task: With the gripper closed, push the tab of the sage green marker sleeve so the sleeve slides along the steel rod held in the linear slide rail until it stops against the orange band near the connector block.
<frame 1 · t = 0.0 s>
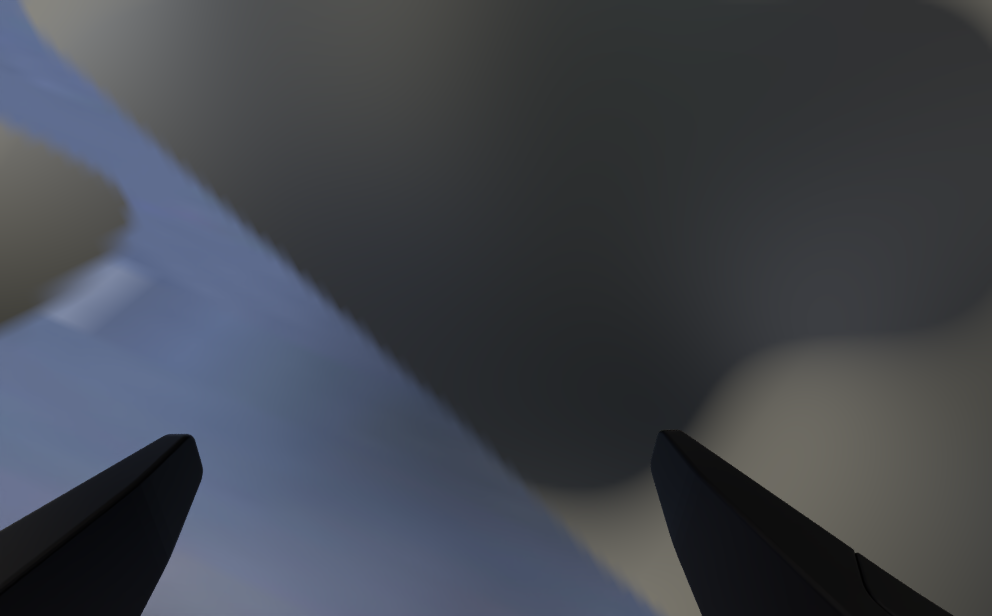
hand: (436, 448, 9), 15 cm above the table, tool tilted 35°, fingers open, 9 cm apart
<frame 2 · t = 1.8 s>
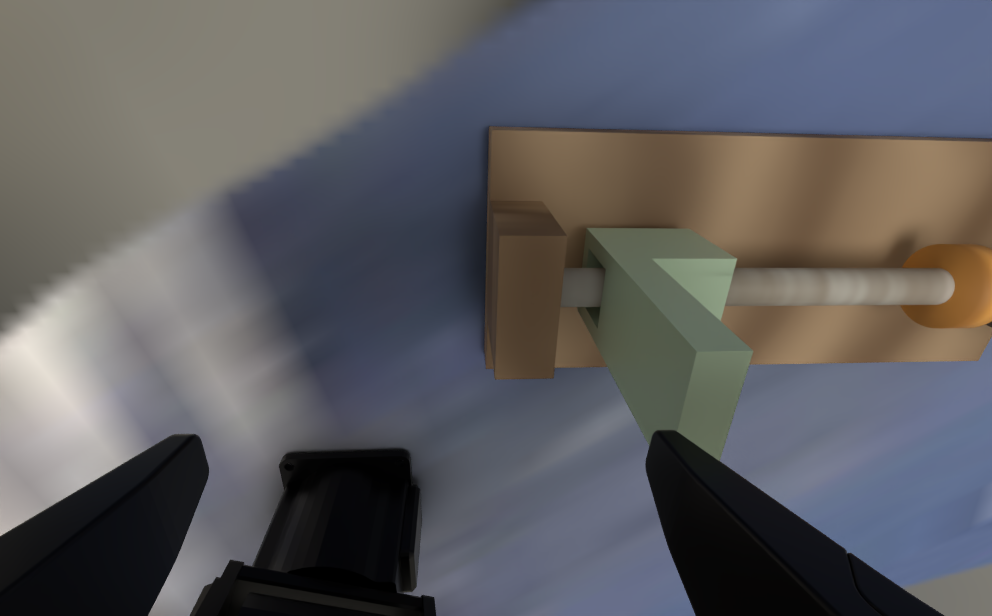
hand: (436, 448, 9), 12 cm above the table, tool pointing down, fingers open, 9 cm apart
linear slide rail: (753, 251, 21), on the table
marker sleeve: (680, 322, 14), point 7 cm above the table, slide at 0.0 cm
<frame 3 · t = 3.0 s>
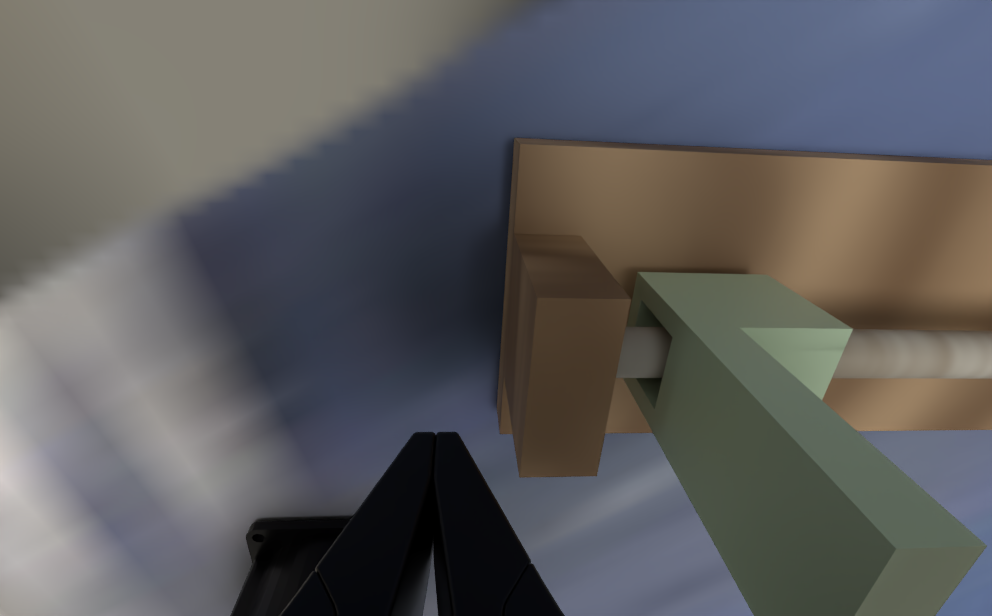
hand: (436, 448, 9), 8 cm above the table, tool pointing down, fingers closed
linear slide rail: (829, 296, 17), on the table
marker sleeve: (778, 417, 11), point 7 cm above the table, slide at 0.0 cm
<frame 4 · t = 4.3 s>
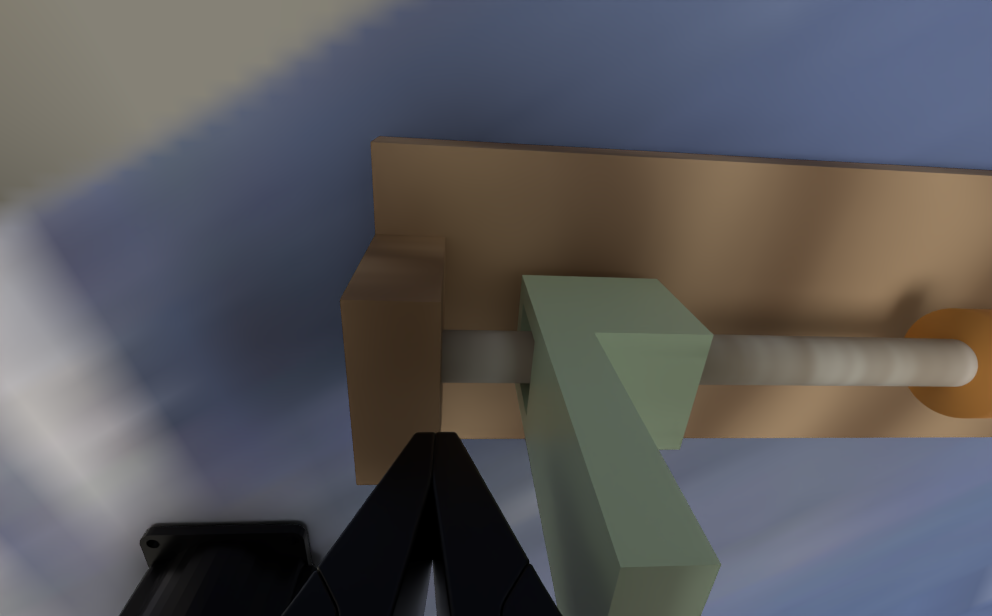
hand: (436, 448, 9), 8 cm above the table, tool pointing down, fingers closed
linear slide rail: (723, 301, 17), on the table
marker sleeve: (631, 425, 10), point 7 cm above the table, slide at 0.6 cm, touching gripper
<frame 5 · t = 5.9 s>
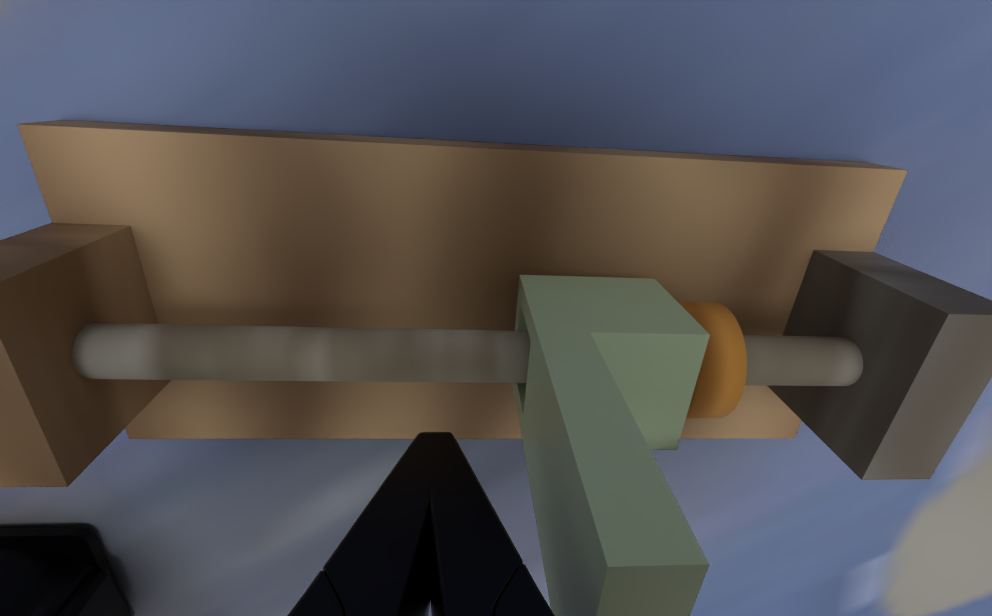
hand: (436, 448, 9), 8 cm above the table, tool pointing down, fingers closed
linear slide rail: (486, 295, 16), on the table
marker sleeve: (626, 425, 10), point 7 cm above the table, slide at 9.2 cm, touching gripper
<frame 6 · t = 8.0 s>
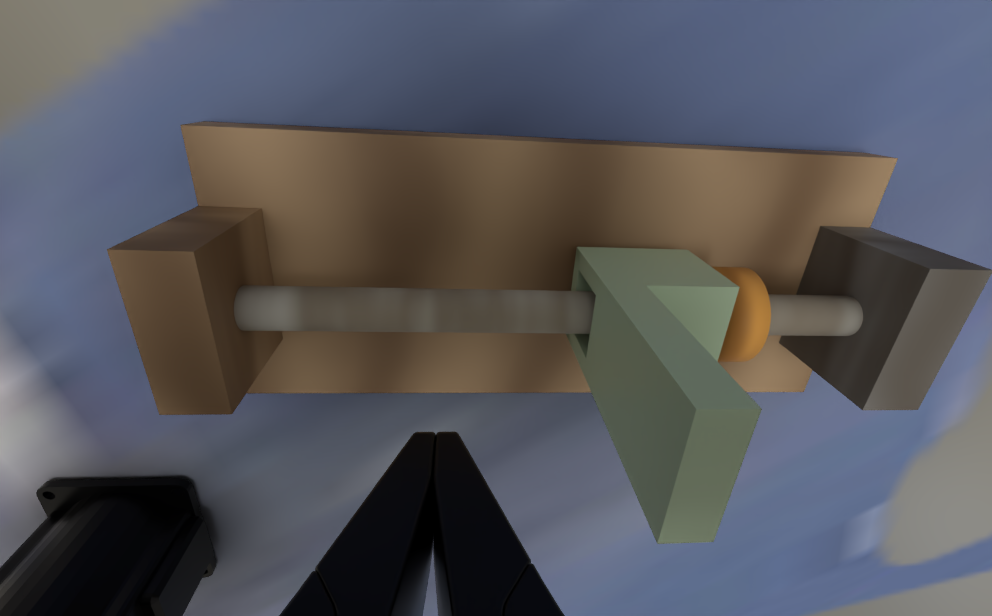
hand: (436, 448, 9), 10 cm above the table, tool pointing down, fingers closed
linear slide rail: (542, 268, 19), on the table
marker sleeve: (676, 357, 13), point 7 cm above the table, slide at 9.1 cm
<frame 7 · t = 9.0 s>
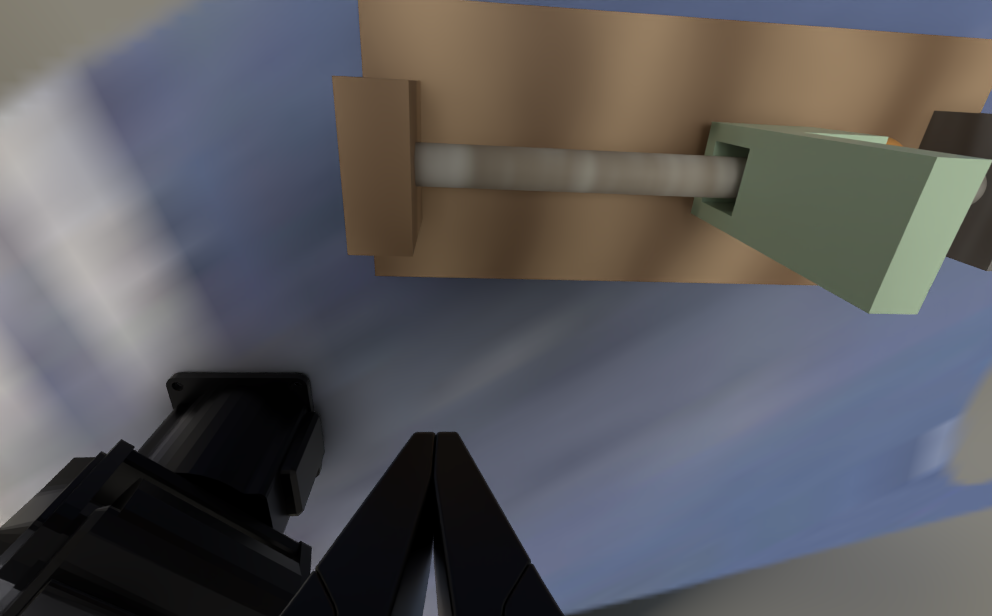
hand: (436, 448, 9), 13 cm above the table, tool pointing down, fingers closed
linear slide rail: (661, 159, 20), on the table
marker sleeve: (834, 197, 14), point 7 cm above the table, slide at 9.1 cm
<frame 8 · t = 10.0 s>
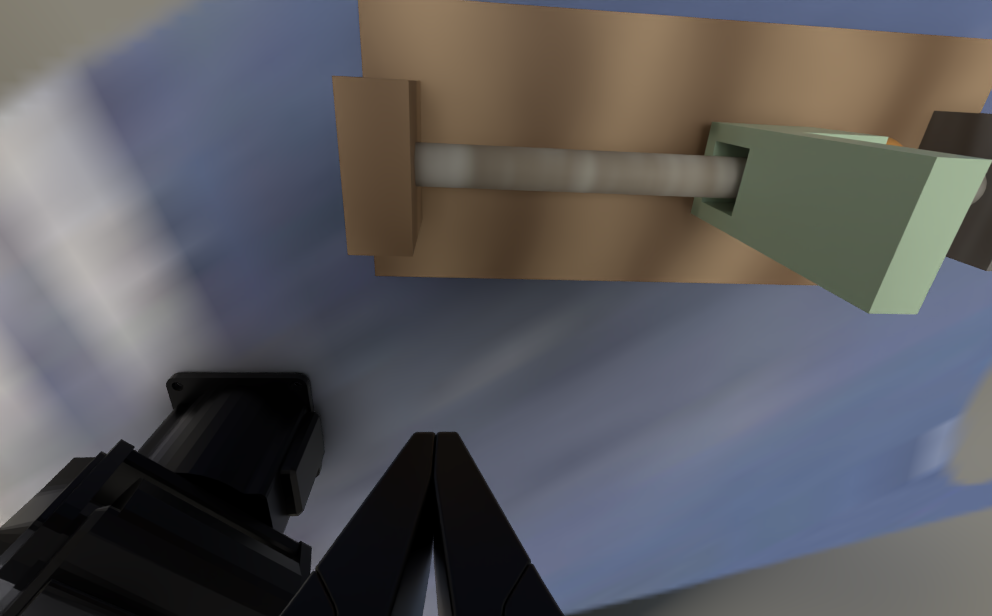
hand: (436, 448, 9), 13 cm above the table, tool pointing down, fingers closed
linear slide rail: (661, 159, 20), on the table
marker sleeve: (834, 197, 14), point 7 cm above the table, slide at 9.1 cm
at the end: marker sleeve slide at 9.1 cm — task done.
